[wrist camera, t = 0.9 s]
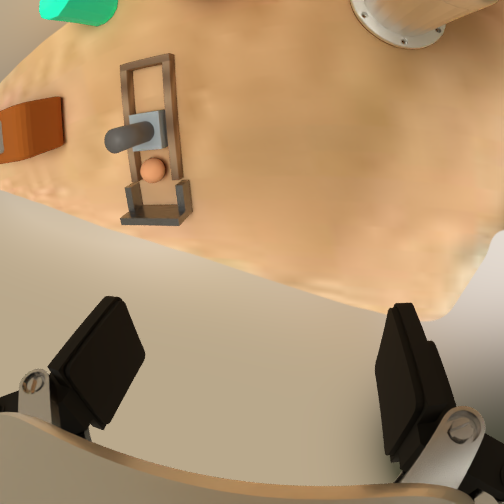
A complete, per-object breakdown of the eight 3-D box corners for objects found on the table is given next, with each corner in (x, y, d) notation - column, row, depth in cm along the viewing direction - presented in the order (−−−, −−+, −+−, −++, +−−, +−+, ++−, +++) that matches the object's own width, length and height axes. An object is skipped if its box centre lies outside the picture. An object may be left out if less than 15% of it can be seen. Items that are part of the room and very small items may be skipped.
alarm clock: (65, 95, 36) (12, 104, 26) (68, 144, 40) (18, 163, 30) (-6, 118, 39) (-47, 132, 29) (-2, 156, 43) (-42, 174, 33)
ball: (146, 156, 39) (134, 162, 36) (167, 154, 38) (156, 160, 35) (149, 179, 40) (137, 186, 38) (170, 178, 40) (159, 185, 37)
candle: (82, 26, 30) (26, 21, 19) (93, -7, 26) (39, -20, 16) (111, 26, 30) (54, 16, 19) (123, -10, 26) (70, -28, 16)
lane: (126, 65, 33) (119, 65, 31) (174, 54, 31) (168, 53, 30) (137, 178, 41) (132, 182, 39) (183, 176, 39) (178, 179, 38)
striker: (138, 113, 36) (96, 122, 28) (166, 109, 35) (128, 115, 27) (141, 148, 38) (102, 164, 30) (169, 145, 37) (133, 161, 29)
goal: (133, 182, 41) (115, 193, 37) (189, 180, 40) (174, 191, 35) (138, 211, 43) (121, 224, 39) (192, 211, 42) (179, 225, 37)
